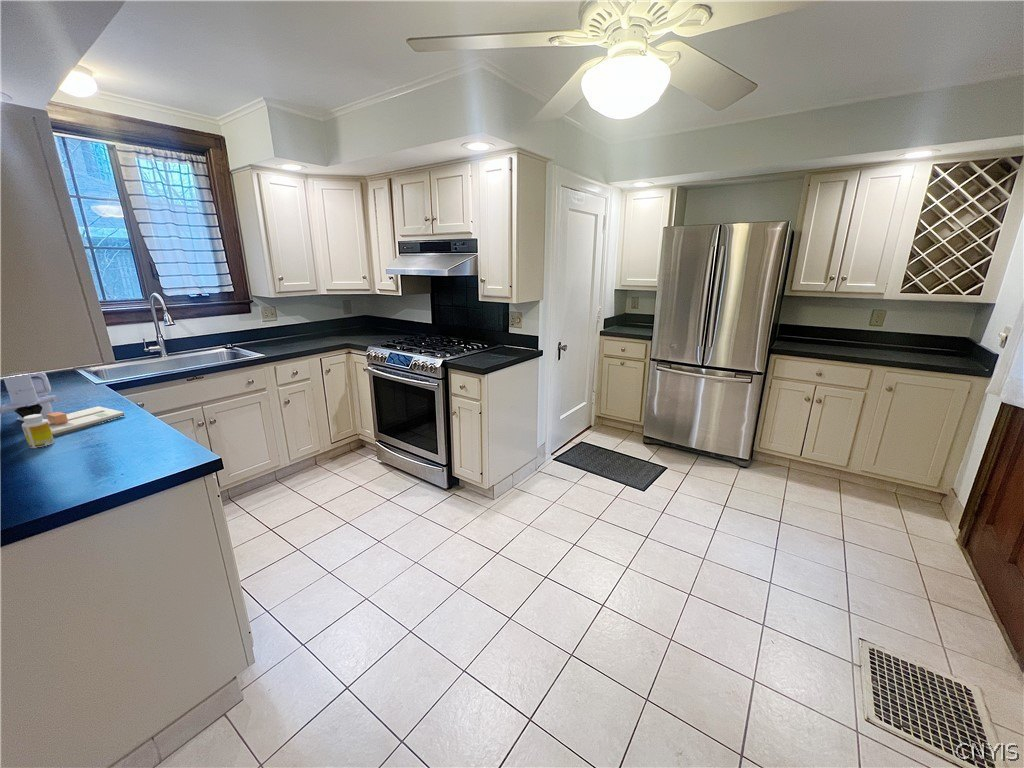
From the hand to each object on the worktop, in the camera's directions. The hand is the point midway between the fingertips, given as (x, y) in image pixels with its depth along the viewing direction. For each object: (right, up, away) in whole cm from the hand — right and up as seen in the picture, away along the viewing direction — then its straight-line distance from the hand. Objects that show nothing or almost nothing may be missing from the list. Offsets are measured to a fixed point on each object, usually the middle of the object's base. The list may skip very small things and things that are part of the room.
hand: (34, 426), depth 138 cm
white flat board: (+4, 0, +11) cm, 11 cm away
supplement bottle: (+11, -5, -7) cm, 14 cm away
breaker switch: (+2, 0, +6) cm, 6 cm away
